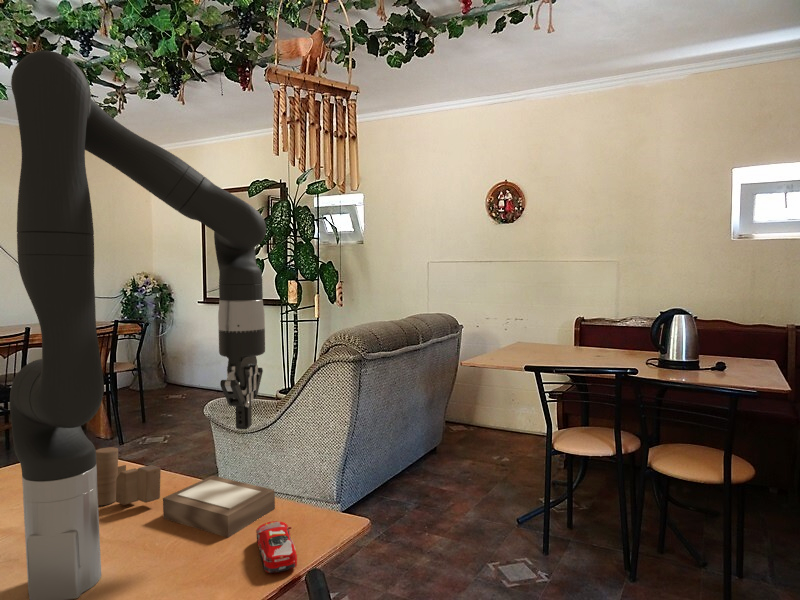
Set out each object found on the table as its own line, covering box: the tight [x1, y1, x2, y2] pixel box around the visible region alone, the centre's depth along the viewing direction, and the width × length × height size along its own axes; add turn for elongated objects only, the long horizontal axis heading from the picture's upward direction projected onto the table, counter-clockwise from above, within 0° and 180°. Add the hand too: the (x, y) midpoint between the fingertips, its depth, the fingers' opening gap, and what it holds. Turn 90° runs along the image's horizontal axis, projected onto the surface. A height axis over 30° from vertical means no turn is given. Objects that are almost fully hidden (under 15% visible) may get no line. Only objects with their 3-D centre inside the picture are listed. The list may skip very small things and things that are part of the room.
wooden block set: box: [95, 446, 162, 506], centre depth 110 cm, size 18×9×10 cm, turn 57°
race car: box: [255, 520, 298, 574], centre depth 88 cm, size 13×5×4 cm, turn 19°
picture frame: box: [162, 475, 276, 538], centre depth 103 cm, size 16×12×4 cm
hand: (243, 427), depth 95 cm, fingers closed
